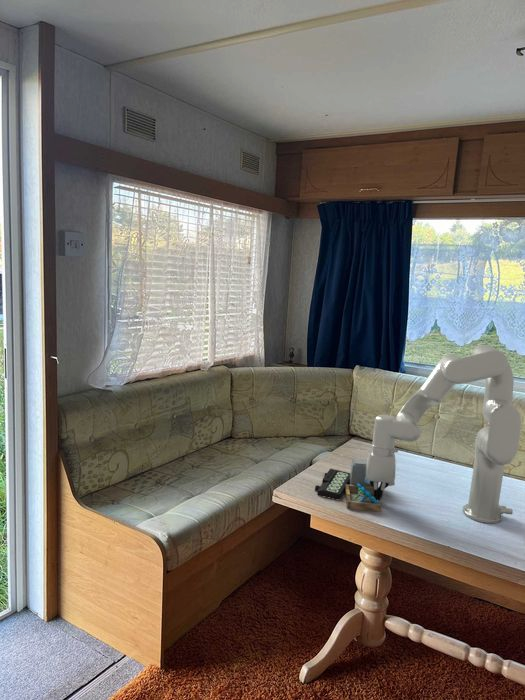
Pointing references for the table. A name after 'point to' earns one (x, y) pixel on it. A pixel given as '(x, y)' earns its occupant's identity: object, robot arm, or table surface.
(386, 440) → the robot arm
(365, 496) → the gear
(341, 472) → the digital display
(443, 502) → the table surface
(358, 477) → the box
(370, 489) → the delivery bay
